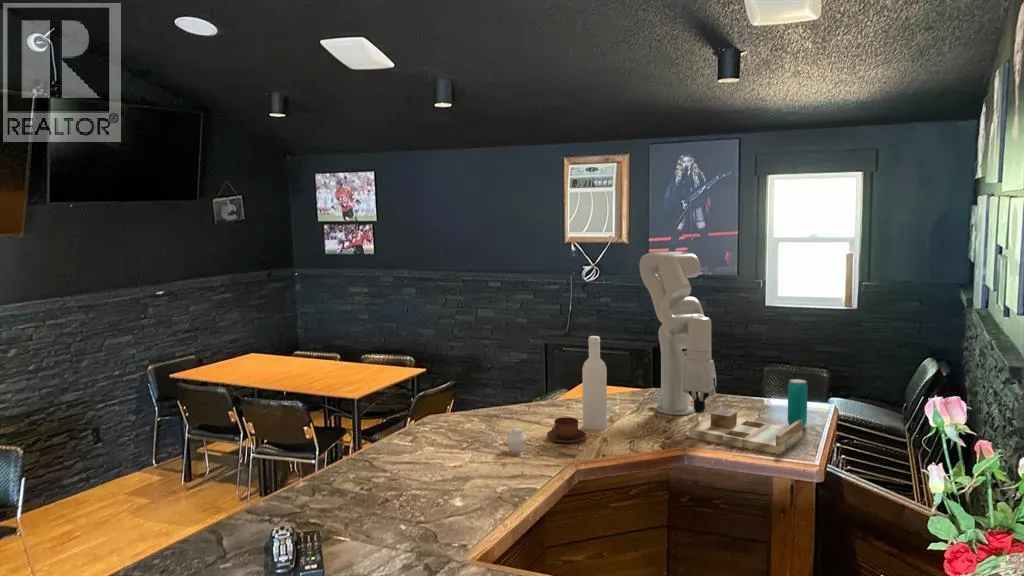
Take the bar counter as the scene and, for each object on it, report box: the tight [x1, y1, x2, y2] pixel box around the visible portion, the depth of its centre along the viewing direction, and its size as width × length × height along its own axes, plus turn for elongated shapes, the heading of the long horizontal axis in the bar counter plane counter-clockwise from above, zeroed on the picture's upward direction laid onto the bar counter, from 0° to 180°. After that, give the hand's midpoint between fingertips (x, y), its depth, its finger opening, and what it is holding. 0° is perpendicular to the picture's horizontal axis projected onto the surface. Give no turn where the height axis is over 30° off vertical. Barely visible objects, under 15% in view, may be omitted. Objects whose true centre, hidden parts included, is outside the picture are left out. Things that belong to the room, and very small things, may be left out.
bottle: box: [581, 335, 608, 432], centre depth 234 cm, size 8×8×30 cm
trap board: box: [688, 416, 804, 455], centre depth 222 cm, size 28×20×6 cm
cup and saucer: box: [546, 416, 587, 444], centre depth 223 cm, size 12×12×6 cm
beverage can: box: [787, 378, 809, 429], centre depth 231 cm, size 6×6×15 cm
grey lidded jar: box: [506, 427, 528, 453], centre depth 213 cm, size 6×6×7 cm
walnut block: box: [710, 408, 738, 429], centre depth 226 cm, size 6×6×4 cm
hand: (699, 412), depth 231 cm, fingers closed
